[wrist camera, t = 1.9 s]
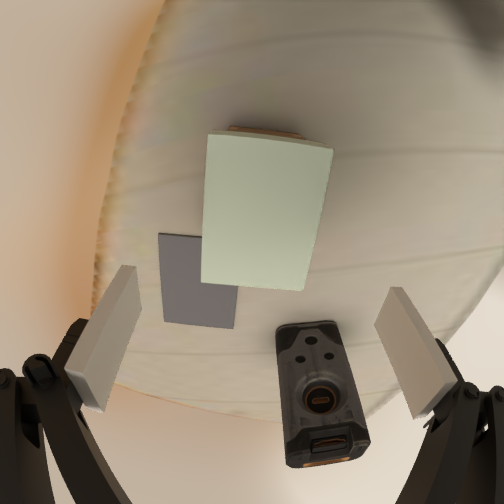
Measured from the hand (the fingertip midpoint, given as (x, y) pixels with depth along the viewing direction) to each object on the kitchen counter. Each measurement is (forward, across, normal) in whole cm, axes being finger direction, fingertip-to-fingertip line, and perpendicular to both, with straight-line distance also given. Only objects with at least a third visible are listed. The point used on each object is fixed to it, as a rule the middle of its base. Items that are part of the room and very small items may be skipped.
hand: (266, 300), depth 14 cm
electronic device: (+20, +10, -22) cm, 31 cm away
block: (+12, 0, 0) cm, 12 cm away
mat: (+20, -6, -14) cm, 25 cm away
